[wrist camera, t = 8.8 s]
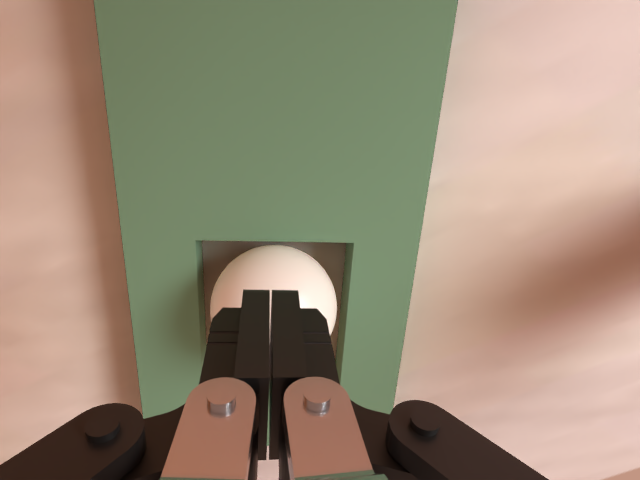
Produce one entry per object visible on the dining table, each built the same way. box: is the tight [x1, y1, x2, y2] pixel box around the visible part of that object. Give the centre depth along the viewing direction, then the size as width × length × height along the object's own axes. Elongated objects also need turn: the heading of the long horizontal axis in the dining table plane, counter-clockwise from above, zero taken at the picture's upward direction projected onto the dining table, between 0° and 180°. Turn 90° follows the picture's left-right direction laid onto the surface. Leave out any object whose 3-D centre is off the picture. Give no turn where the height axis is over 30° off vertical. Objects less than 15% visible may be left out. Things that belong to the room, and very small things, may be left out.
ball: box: [210, 245, 337, 336], centre depth 22 cm, size 6×6×6 cm
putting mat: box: [94, 0, 458, 446], centre depth 22 cm, size 26×14×2 cm, turn 177°
